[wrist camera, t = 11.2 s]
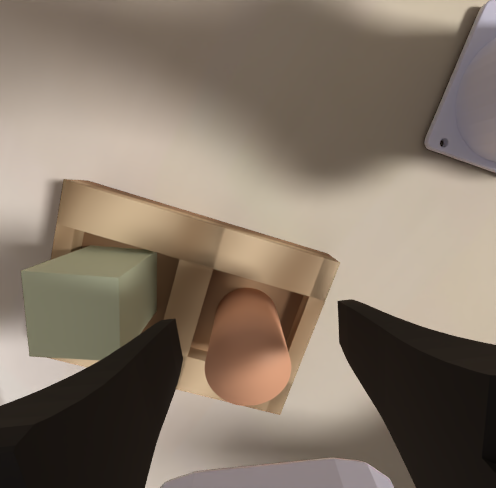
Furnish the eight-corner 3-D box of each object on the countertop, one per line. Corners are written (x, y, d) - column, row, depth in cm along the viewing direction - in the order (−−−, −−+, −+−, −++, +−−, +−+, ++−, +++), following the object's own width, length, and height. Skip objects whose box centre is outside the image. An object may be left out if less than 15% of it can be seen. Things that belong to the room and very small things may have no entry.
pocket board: (327, 253, 17) (340, 262, 15) (275, 389, 19) (280, 414, 17) (87, 180, 16) (63, 179, 14) (59, 335, 18) (35, 354, 16)
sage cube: (157, 250, 16) (118, 277, 11) (156, 310, 17) (120, 361, 12) (90, 245, 16) (20, 270, 11) (93, 306, 16) (29, 356, 11)
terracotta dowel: (271, 282, 16) (284, 322, 11) (281, 338, 17) (297, 397, 12) (209, 293, 16) (195, 338, 11) (222, 349, 17) (214, 412, 12)
